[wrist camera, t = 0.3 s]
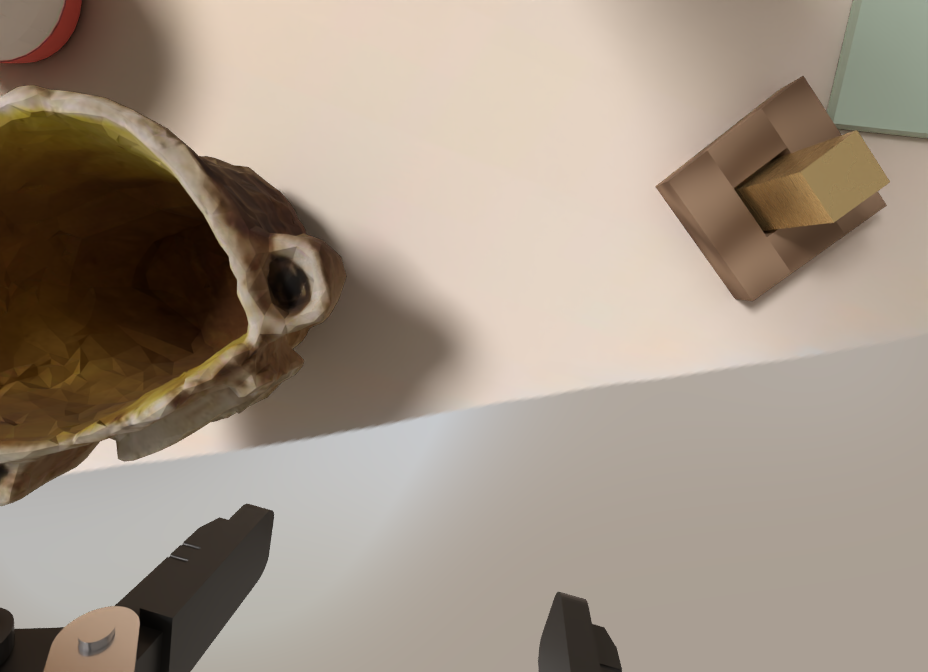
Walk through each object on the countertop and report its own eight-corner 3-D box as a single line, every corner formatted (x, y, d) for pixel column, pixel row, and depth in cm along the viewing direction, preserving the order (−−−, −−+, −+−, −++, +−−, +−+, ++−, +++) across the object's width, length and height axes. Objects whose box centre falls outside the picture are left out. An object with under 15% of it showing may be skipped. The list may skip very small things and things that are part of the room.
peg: (722, 194, 37) (800, 172, 28) (764, 162, 36) (856, 129, 27) (749, 232, 37) (833, 222, 28) (790, 201, 37) (889, 182, 28)
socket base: (655, 186, 37) (668, 181, 34) (780, 88, 35) (803, 75, 33) (735, 298, 38) (752, 301, 36) (859, 209, 37) (886, 205, 34)
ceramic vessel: (259, -49, 27) (97, 85, 11) (392, 253, 45) (411, 482, 28) (-63, 62, 29) (-663, 337, 12) (189, 312, 47) (92, 565, 30)
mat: (862, -39, 34) (873, -48, 33) (1021, -23, 33) (1037, -32, 32) (823, 127, 36) (833, 123, 35) (972, 143, 35) (986, 140, 34)
